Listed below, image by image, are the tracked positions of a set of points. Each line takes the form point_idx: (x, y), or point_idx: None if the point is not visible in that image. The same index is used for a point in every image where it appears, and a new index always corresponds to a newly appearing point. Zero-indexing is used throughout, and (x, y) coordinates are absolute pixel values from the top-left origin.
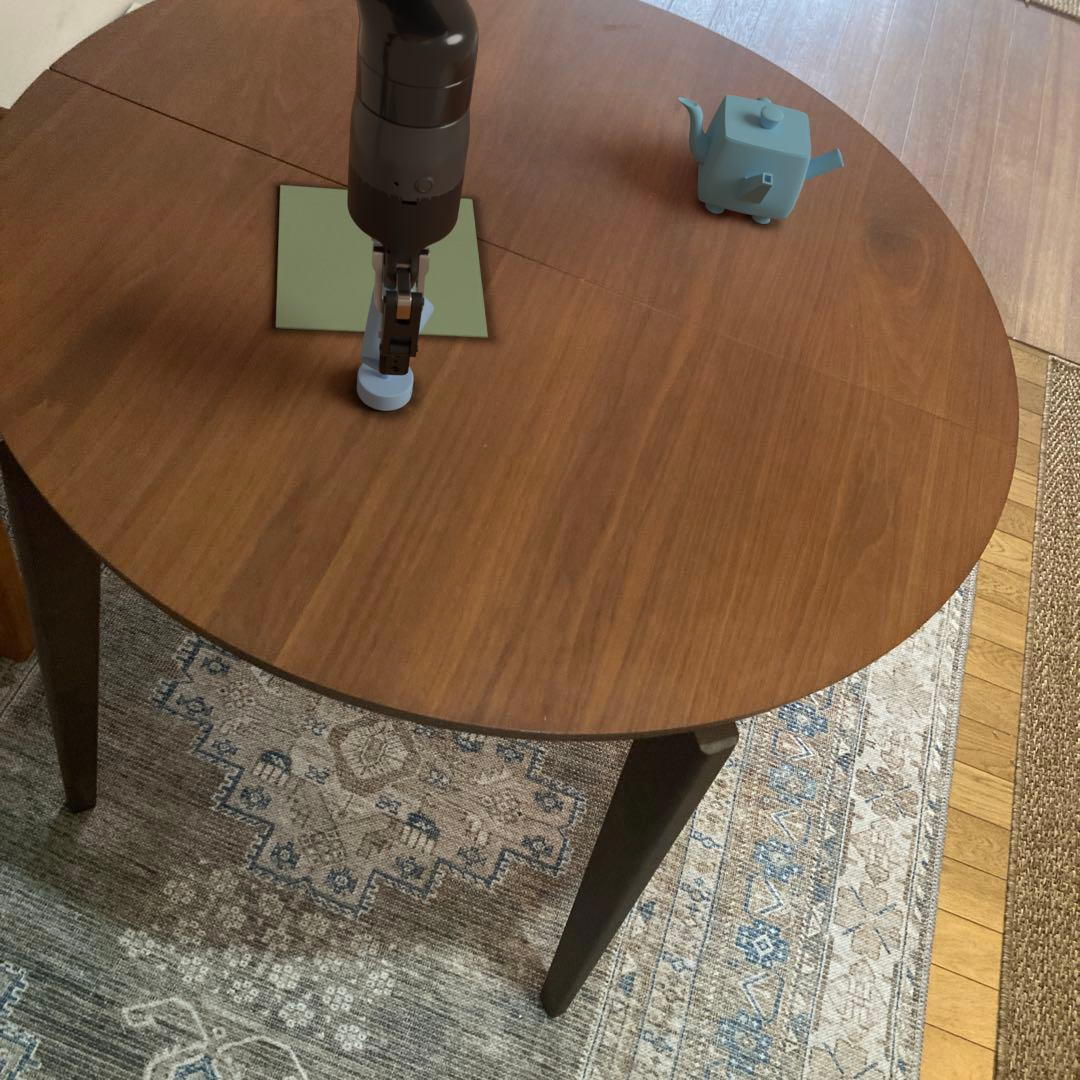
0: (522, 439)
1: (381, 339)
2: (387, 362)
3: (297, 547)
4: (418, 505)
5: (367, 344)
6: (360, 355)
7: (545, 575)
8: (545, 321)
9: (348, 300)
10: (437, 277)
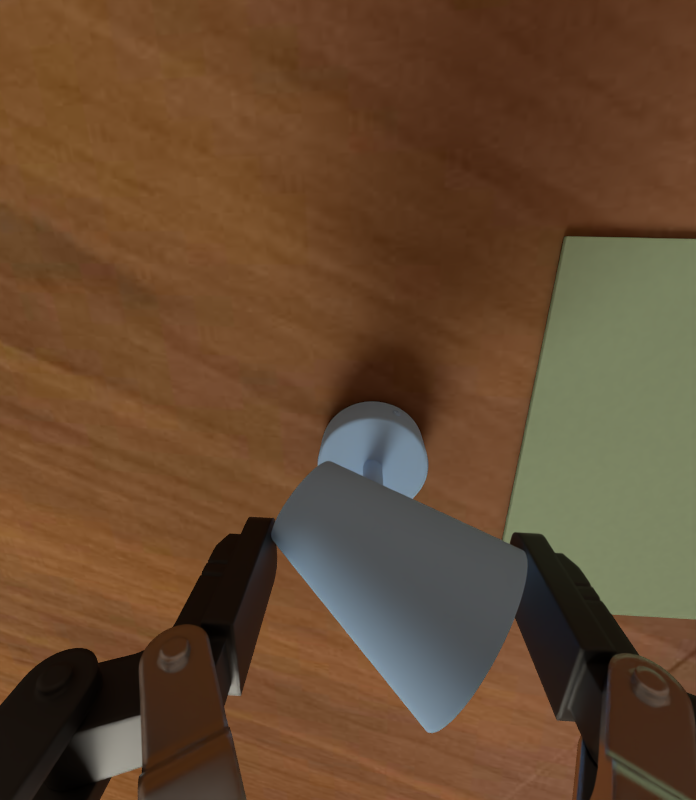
0: (282, 617)
1: (142, 658)
2: (201, 579)
3: (8, 280)
4: (138, 476)
5: (319, 509)
6: (313, 474)
7: (60, 609)
8: (515, 676)
9: (619, 397)
10: (648, 554)
